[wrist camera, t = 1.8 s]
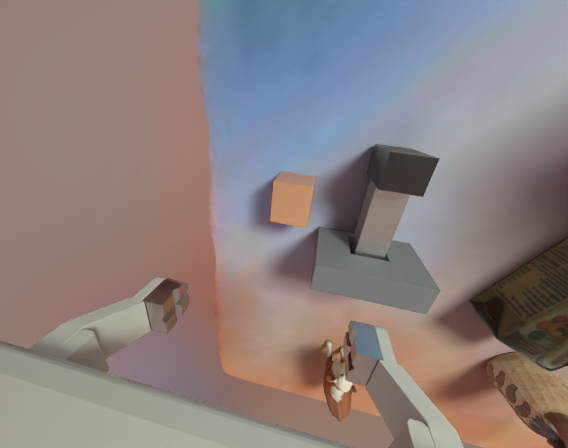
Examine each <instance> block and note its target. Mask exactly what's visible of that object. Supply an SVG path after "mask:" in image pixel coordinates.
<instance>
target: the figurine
mask: <svg viewBox="0 0 568 448" xmlns="http://www.w3.org/2000/svg"><path fill="white" fill-rule="evenodd" d="M486 371H487V374H488V376H489V377H490V379H491V381H492V382H493V384H494V385H495V386H496V388H497V389H498V390H499V391H500V392H501V394H502V395H503V396H504V397H505V399H506V400H507V402H508V403H509V404H510V406H511V407H512V408H513V410H514V411H515V413H516V414H517V415H518V417H519V418H520V419H521V420H522V421H523V422H524V423H525V424H526V425H527V426H528V427H529V428H530V429H531V430H533V431H534V432H536V433H537V434H539V435H541V436H543V437H545V438H546V439H548V440H547V442H548V444H549V445H551V446H552V447H554V448H568V386H567V385H566V384H565V382H564V381H563V380H562V379H561V377H560V376H559V375H558V374H557V372H556V371H555V370H554V371H551V372H550V371H547V370H545V369H543V368H541V367H540V366H538V365H537V364H535V363H534V362H532V361H531V360H529V359H528V358H526V357H525V356H523V355H522V354H520V353H519V352H511V353H505V354H501V355H498V356H496V357H494V358H492V359H491V360H490V361H488V363H487V366H486Z"/></svg>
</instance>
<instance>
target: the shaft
mask: <svg viewBox="0 0 568 448" xmlns="http://www.w3.org/2000/svg"><path fill="white" fill-rule="evenodd" d="M438 161H439V158H436V157H433V156H430V155H428V154H425V153H422V152H419V151H416V150H413V149H408V148H401V147H393V146H386V145H378V144H375V147H374V151H373V154H372V158H371V161H370V165H369V168H368V172H367V174H368V176H369V177H370V182H369V186H368V189H367V192H366V195H365V199H364V202H363V205H362V209H361V212H360V215H359V219H358V222H357V225H356V229H355V232H354V235H353V239H352V242H351V245H350V253H351V254H354V255H359V256H364V257H369V258H374V259H379V260H384V258H385V255H386V253H387V250H388V248H389V246H390V243H391V241H392V238H393V236H394V233H395V231H396V228H397V226H398V223H399V221H400V218H401V216H402V213H403V211H404V208H405V206H406V203H407V201H408V198H409V196H410V195H415V196H422V197H423V195H424V193H425V191H426V188H427V186H428V184H429V181H430V179H431V177H432V175H433V172H434V170H435V168H436V165H437V163H438Z"/></svg>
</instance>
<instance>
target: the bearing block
mask: <svg viewBox="0 0 568 448" xmlns="http://www.w3.org/2000/svg"><path fill="white" fill-rule="evenodd" d="M353 235H354V233H349V232H344V231H339V230H333V229H328V228H322V227H319V231H318V236H317V241H316V245H315V253H314V262H313V270H312V279H311V288H310V289H315V290H319V291H324V292H328V293H333V294H337V295H342V296H346V297H351V298H355V299H360V300H364V301H369V302H373V303H378V304H382V305H387V306H391V307H396V308H400V309H405V310H409V311H414V312H418V313H423V314H427V312H428V311H429V309H430V307H431V306H432V304H433V302H434V301H435V299H436V297H437V296H438V294H439V292H440V289H439V288H438V286H437V285H436V283H435V281H434V280H433V278H432V277H431V275H430V274H429V272H428V271H427V269H426V268H425V266H424V265H423V263H422V261H421V260H420V258H419V257H418V255H417V254H416V252H415V251H414V249H413V248H412V246H411V245H410V244H408V243H403V242H398V241H391V243H390V246H389V248H388V250H387V253H386V255H385V258H384V260H379V259H374V258H369V257H364V256H359V255H354V254H351V253H350V245H351V242H352V239H353Z"/></svg>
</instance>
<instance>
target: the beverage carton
mask: <svg viewBox="0 0 568 448" xmlns="http://www.w3.org/2000/svg"><path fill="white" fill-rule="evenodd" d="M470 303H471V304H472V306H473V307H474V309H475V311H476V313H477V314H478V315H479V316H480V318H481V319H482V320H483V321H484V322H485V324H486V325H487V326H488V328H489V329H490V330H491V332H492V333H493V334H494V336H495V337H496V339H498V340H499V341H501V342H502V343H504V344H505V345H507V346H509V347H510V348H512V349H513V350H515V351H517V352H519V353H520V354H522V355H523V356H525V357H526V358H528V359H529V360H531V361H532V362H534V363H535V364H537V365H538V366H540V367H541V368H543V369H545V370H547V371H550V372H551V371H554V370H557V369H560V368H562V367H565V366H568V238H567V239H565V240H564V241H562V242H561V243H559V244H557V245H555V246H554V247H552V248H551V249H549V250H548V251H546V252H545V253H543V254H541V255H540V256H538V257H537V258H535V259H534V260H532V261H530V262H529V263H527V264H526V265H524V266H523V267H521V268H519V269H518V270H516V271H515V272H513V273H512V274H510V275H508V276H507V277H506V278H504V279H502V280H501V281H499V282H497V283H496V284H495V285H493V286H492V287H490V288H489V289H487V290H486V291H485V292H483V293H481V294H480V295H478V296H477V297H475V298H474V299H472V300H470Z"/></svg>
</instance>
